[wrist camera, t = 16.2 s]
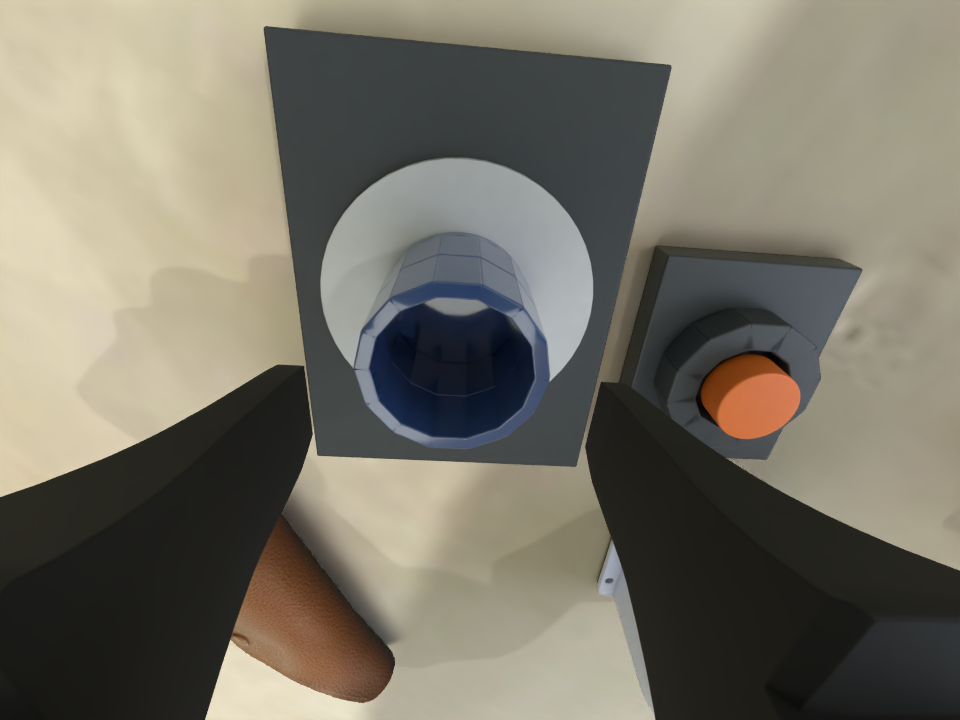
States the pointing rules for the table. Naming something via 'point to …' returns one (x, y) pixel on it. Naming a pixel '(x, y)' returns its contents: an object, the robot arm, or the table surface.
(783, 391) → the button
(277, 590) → the sunglasses case
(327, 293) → the scale
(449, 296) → the blue cup
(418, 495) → the table surface
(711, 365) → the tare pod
